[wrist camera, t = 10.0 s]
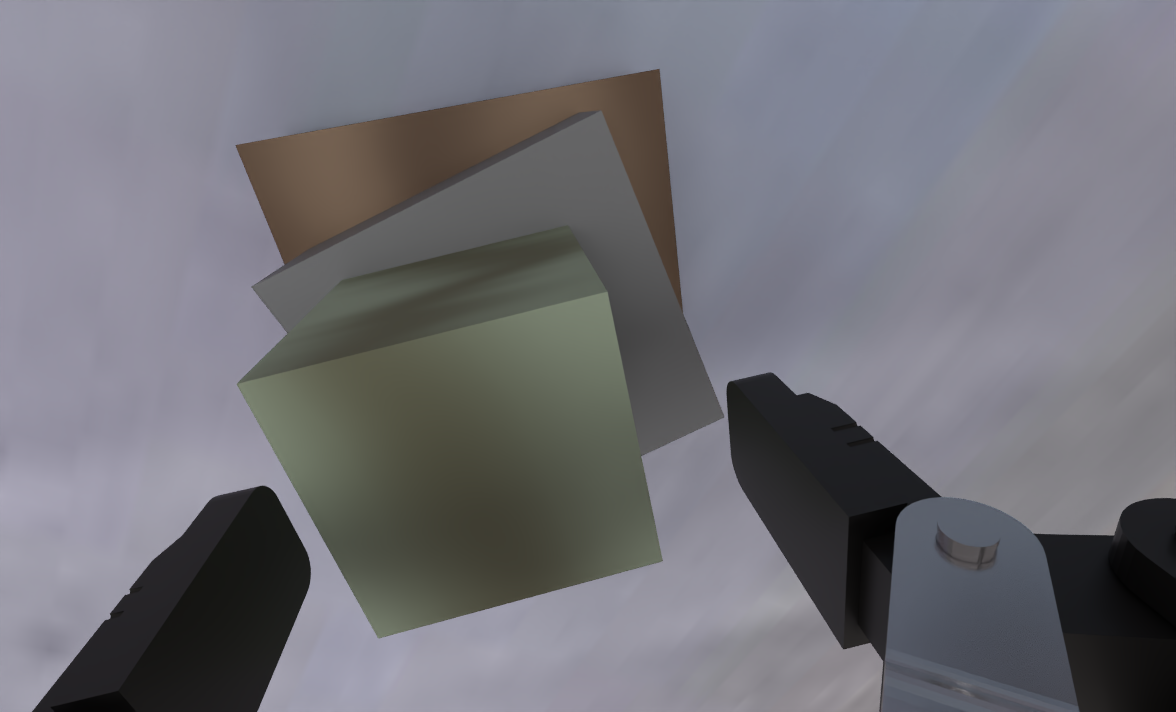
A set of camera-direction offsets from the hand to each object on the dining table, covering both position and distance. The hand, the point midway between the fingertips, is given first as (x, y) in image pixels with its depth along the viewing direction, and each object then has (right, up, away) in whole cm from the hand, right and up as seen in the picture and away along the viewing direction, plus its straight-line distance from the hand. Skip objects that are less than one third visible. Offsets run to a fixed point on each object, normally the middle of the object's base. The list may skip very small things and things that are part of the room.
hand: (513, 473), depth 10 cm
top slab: (-1, +4, +8) cm, 9 cm away
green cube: (-1, +2, +4) cm, 5 cm away
